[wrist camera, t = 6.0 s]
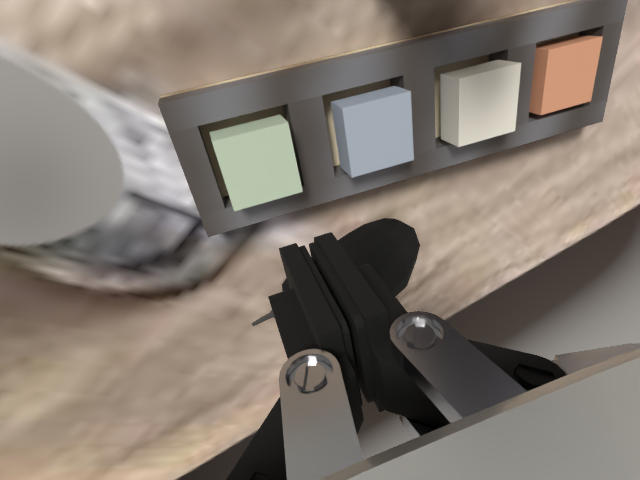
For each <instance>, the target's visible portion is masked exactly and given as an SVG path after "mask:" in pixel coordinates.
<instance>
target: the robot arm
mask: <svg viewBox="0 0 640 480" xmlns="http://www.w3.org/2000/svg"><path fill="white" fill-rule="evenodd" d="M309 248H310V252H311V257H312V258H311V257H310V255H309V253H308V251H307V249H306V247H305V246H301V247H298V245H297V243H295V244H292V245H288V246H285V247H282V248H279V251H280V255H281V258H282V262H283V266H284V270H285V273H286V277H287V281H288V284H289V288H290V290H287V291H284V292H281V293H277V294H274V295H271V296H268V297H269V300H270V304H271V307H272V310H273V313H274V316H275V320H276V323H277V326H278V329H279V332H280V336H281V339H282V342H283V345H284V348H285V351H286V354H287V358H288V360H287V361H286V362H285V364H284V365H283V367H282V369H281V371H280V376H279V386H280V397H279V399H278V401H277V402H276V404H275V405H274V407H273V408H272V410H271V411H270V413H269V414H268V416H267V418H266V419H265V421H264V422H263V424H262V425H261V427H260V428H259V430H258V431H257V433H256V435H255V436H254V438H253V439H252V441H251V442H250V444H249V446H248V447H247V449H246V450H245V452H244V453H243V455H242V456H241V458H240V460H239V461H238V463H237V464H236V465H235V467H234V469H233V470H232V472H231V473H230V475H229V476H228V478H227V479H226V480H640V343H639V344H638V343H637V344H636V343H635V344H623V345H617V346H611V347H605V348H599V349H592V350H586V351H580V352H574V353H568V354H561V355H556V356H555V358H554V360H553V361H550V360H548V359H546V358H543V357H540V356H537V355H533V354H529V353H524V352H520V351H515V350H511V349H506V348H502V347H497V346H493V345H489V344H484V343H480V342H476V341H471V340H467V339H465V338H464V337H463V336H462V335H460V334H459V333H458V332H457V331H456V330H455V329H453V328H452V327H451V326H450V325H449V324H447V323H446V322H445V321H444V320H443V319H441V318H440V317H438V316H437V315H434V314H431V313H428V312H420V311H417V312H409V313H407V311H406V310H405V309H404V307H403V306H402V305H401V304H400V302H399V301H398V300H397V298H396V297H395V296H394V295H393V293H392V292H391V291H390V289H389V288H388V287H387V286H386V284H385V283H384V282H383V280H382V279H381V278H380V276H379V275H378V274H377V273H376V271H375V270H374V269H373V267H372V266H371V265H370V264H365V265H362V266H359V267H356V266H355V265H354V263H353V262H352V260H351V259H350V257H349V256H348V255H347V253H346V252H345V250H344V249H343V248H342V246H341V245H340V243H339V242H338V241H337V239H336V238H335V236H334V235H333V234H332V233H331V232H330V233H327V234H324V235H320V236H317V237H314V243H310V244H309ZM360 389H361V391H362V393H363V395H364V397H365V399H366V401H367V402H368V403H369V402H372V401H374V402H375V404H376V406H377V408H378V410H379V412H381V411H383V410H386V411H389V412H392V413H395V414H398V415H399V419H400V421H401V422H402V424H403V426H404V427H405V429H406V430H407V431H408V432H409V434H410V435H411V436H412V438H413V440H410V441H408V442H406V443H403V444H401V445H398V446H396V447H393V448H391V449H389V450H386V451H384V452H382V453H379V454H377V455H375V456H372V457H370V458H367V459H365V460H363V457H362V453H361V449H360V445H359V441H358V437H357V434H358V431H359V429H360V427H361V425H362V422H363V420H364V419H363V413H362V408H361V406H362V398H361V393H360Z"/></svg>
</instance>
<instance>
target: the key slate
mask: <svg viewBox="0 0 640 480" xmlns="http://www.w3.org/2000/svg"><path fill="white" fill-rule="evenodd" d="M331 108H332V115H333V121H334V128H335V134H336V141H337V147H338V154H339V161H340V167H341V168H342V169H343V170H344V171H345V172H346V173H347V174H348V175H349V176H350V177H352V178H353V177H356V176H360V175H363V174H367V173H370V172H374V171H377V170H381V169H384V168H388V167H391V166H395V165H398V164H402V163H405V162H409V161H412V160H414V149H413V128H412V107H411V91H409V90H406V89H403V88H400V87H397V86H391V87H387V88H383V89H379V90H375V91H371V92H368V93H364V94H360V95H356V96H352V97H348V98H344V99H340V100H336V101H332V102H331Z"/></svg>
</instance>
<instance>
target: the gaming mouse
mask: <svg viewBox="0 0 640 480" xmlns="http://www.w3.org/2000/svg"><path fill="white" fill-rule="evenodd" d="M338 242H339V243H340V245H341V246H342V248H343V249H344V250H345V252H346V253H347V255H348V256H349V257H350V259H351V260H352V262H353V263H354V265H355V266H356V267H359V266H362V265H365V264H370V265H371V266H372V267H373V269H374V270H375V271H376V273H377V274H378V275H379V276H380V278H381V279H382V280H383V282H384V283H385V284H386V286H387V287H388V288H389V289H390V291H391V292H392V293H393V295H394V296H396V295H398V294H399V293H400V292H401V291H402V290H403V289H404V288H405V287H406V286H407V284H408V281H409V279H410V276H411V273H412V270H413V268H414V265H415V262H416V259H417V255H418V251H419V247H420V244H419V241H418V238H417V236H416V233H415V230H414V228H412V227H410V226H408V225H407V224H405V223H403V222H401V221H399V220H396V219H387V218H384V219H381V220H377V221H374V222H371V223H367V224H364V225H362V226H361V227H359V228H357V229H355V230H354V231H352V232H350V233H348V234H347V235H345V236H344V237H342V238H341V239H339V240H338ZM311 258H312V257H311ZM282 290H283V292H284V291H287V290H290V288H289V284H288V281H287V278H286V280H285V281H284V282H283V284H282ZM271 317H274V318H275V316H274V313H273V310H272V311H271V313H269V314H267V315H265V316H263V317H261V318H260V319H258V320H257V321H255V322H253V323H252V325H253V326H255V325H257V324H259V323H261V322H263V321H265V320H267V319H269V318H271Z"/></svg>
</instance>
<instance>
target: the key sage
mask: <svg viewBox="0 0 640 480" xmlns="http://www.w3.org/2000/svg"><path fill="white" fill-rule="evenodd" d="M210 136H211V141H212V144H213V147H214V150H215V153H216V157H217V160H218V163H219V166H220V169H221V172H222V175H223V178H224V181H225V184H226V188H227V191H228V194H229V197H230V200H231V203H232V206H233V209H234V211H237V210H241V209H244V208H248V207H251V206H255V205H258V204H262V203H265V202H269V201H272V200H276V199H279V198H283V197H286V196H290V195H293V194H297V193H300V192H303V190H302V186H301V181H300V176H299V171H298V167H297V162H296V157H295V153H294V148H293V143H292V139H291V134H290V129H289V124H288V122H287V121H286V120H285V119H284V118H283V117H282V116H281V115H276V116H272V117H268V118H264V119H260V120H256V121H252V122H248V123H244V124H240V125H236V126H232V127H228V128H224V129H220V130H216V131H212V132H210Z"/></svg>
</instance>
